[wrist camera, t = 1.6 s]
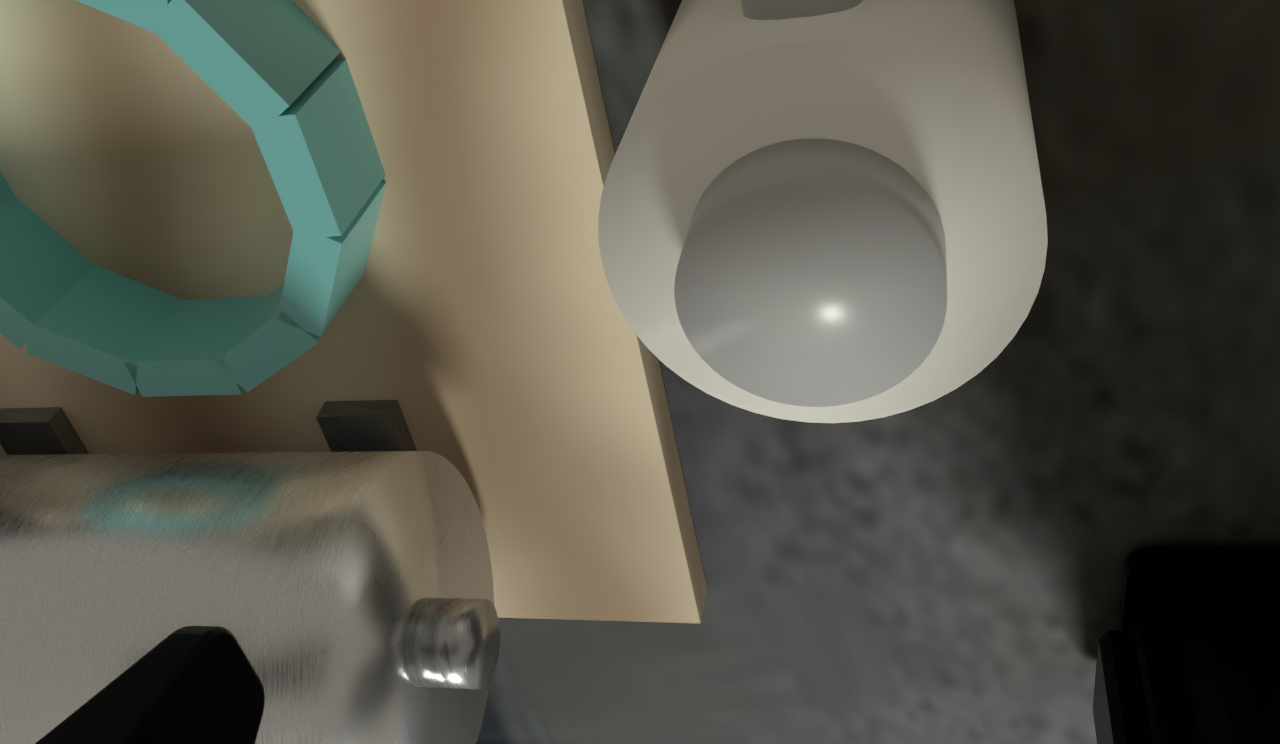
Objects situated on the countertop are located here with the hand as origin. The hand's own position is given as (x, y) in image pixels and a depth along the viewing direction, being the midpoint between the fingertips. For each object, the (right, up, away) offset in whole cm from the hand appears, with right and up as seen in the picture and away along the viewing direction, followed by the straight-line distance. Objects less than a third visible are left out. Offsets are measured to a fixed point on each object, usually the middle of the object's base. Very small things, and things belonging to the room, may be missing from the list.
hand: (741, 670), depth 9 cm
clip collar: (-9, +7, +12) cm, 17 cm away
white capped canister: (+2, +7, +9) cm, 12 cm away
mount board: (-9, +4, +15) cm, 18 cm away
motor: (-10, 0, +18) cm, 20 cm away
